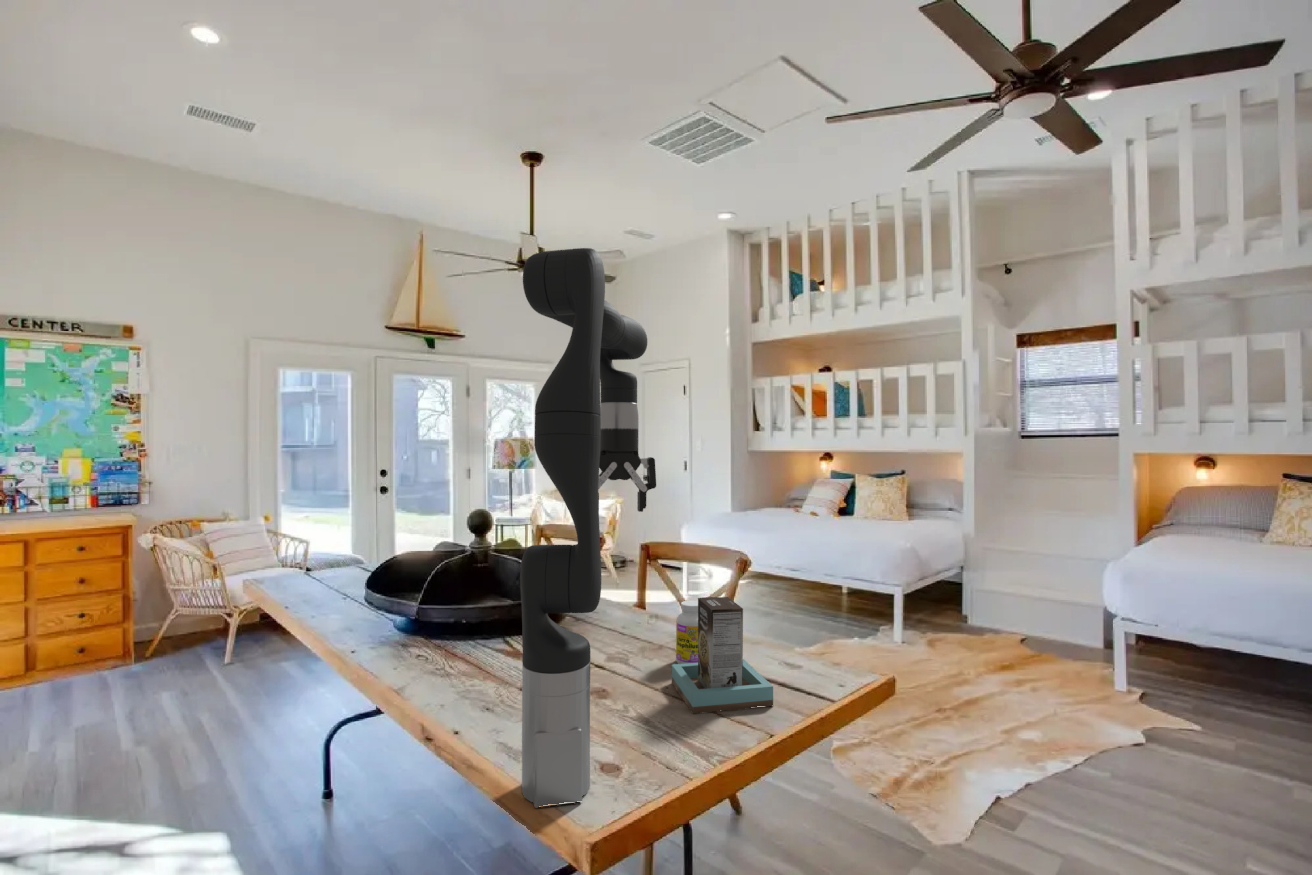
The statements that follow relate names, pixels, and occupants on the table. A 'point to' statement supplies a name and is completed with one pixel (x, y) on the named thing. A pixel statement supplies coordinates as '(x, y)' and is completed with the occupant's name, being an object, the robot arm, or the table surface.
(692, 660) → the supplement bottle
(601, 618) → the table surface
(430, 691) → the table surface
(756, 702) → the teal square tray
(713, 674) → the coffee box
